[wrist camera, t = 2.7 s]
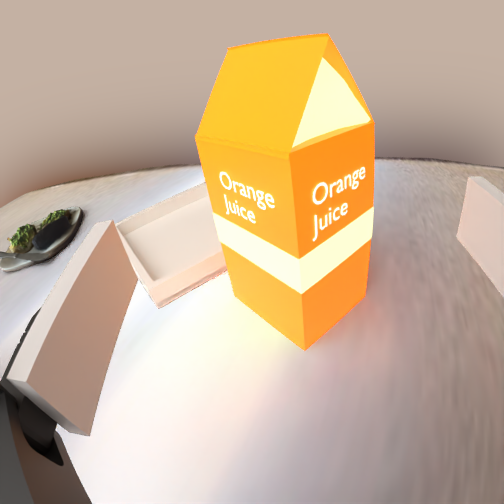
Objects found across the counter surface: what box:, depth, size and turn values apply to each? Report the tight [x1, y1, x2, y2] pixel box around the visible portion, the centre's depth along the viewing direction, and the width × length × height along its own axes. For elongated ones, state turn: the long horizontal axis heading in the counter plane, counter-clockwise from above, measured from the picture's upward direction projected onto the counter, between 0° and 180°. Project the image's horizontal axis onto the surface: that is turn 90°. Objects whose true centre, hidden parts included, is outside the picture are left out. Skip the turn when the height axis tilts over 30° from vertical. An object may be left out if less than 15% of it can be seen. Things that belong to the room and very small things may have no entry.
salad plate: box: [0, 207, 83, 272], centre depth 43 cm, size 19×18×5 cm
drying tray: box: [115, 182, 228, 309], centre depth 36 cm, size 17×17×2 cm
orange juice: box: [195, 34, 374, 351], centre depth 21 cm, size 8×9×20 cm
